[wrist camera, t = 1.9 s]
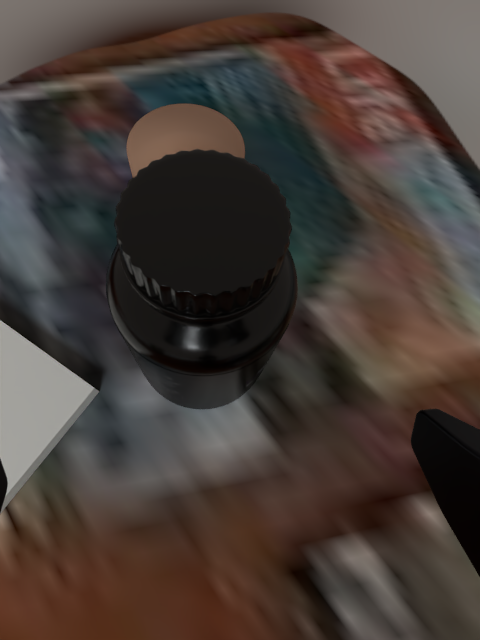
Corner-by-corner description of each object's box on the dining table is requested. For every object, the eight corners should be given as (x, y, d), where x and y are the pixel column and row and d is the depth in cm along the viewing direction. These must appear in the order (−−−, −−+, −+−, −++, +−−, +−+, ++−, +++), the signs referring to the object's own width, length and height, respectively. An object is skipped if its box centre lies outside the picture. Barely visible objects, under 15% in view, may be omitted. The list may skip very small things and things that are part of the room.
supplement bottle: (280, 392, 21) (368, 306, 10) (154, 426, 20) (91, 374, 9) (245, 279, 23) (284, 106, 12) (129, 305, 22) (53, 138, 11)
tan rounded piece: (255, 200, 25) (266, 139, 21) (201, 266, 23) (200, 216, 19) (179, 155, 26) (174, 86, 22) (121, 215, 24) (101, 155, 19)
